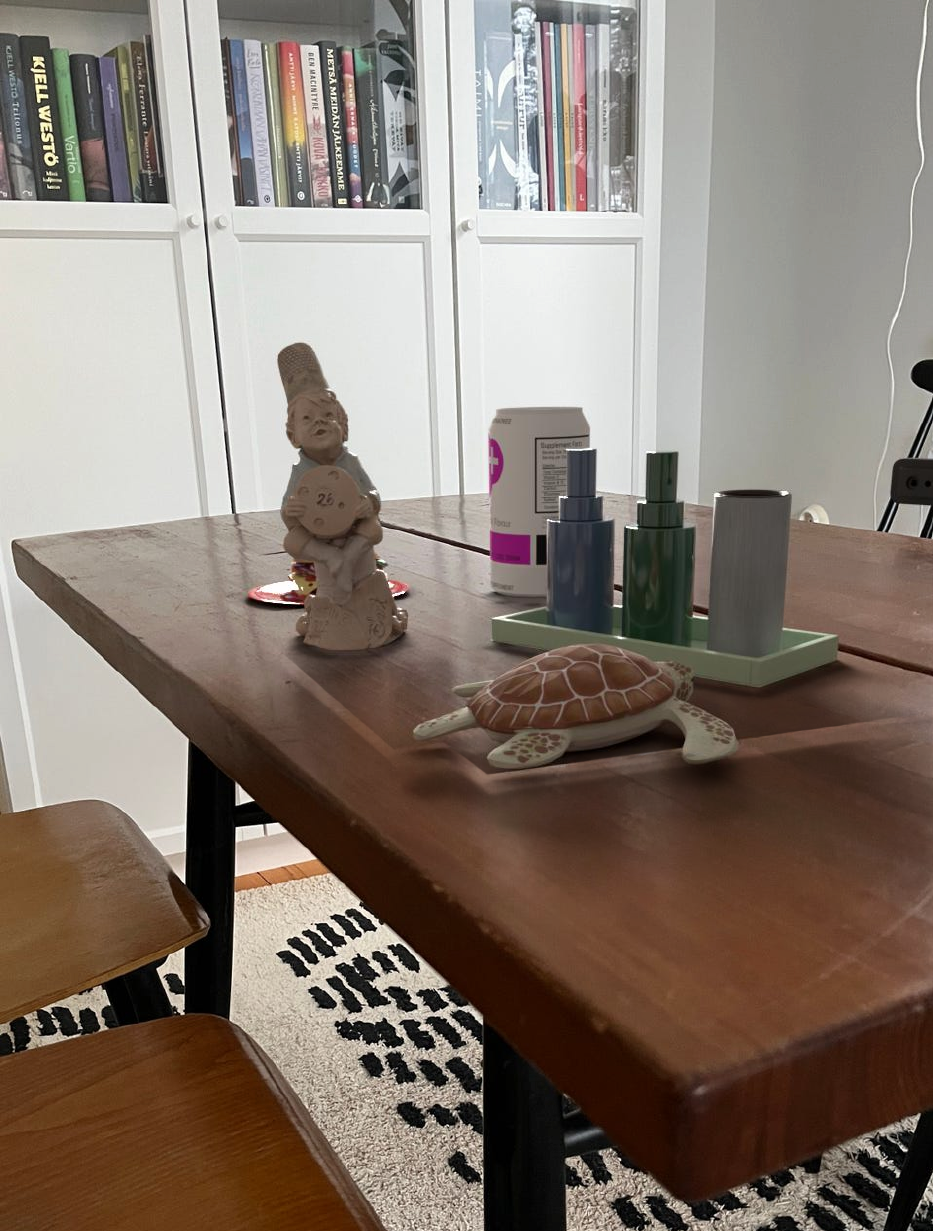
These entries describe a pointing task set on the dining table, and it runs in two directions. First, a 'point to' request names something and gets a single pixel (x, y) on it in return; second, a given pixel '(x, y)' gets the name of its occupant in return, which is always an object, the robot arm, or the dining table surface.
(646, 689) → the decorative turtle
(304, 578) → the red plate
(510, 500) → the supplement can
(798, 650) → the tray
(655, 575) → the green bottle
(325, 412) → the figurine
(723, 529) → the grey cylinder
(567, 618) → the blue bottle
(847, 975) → the dining table surface
